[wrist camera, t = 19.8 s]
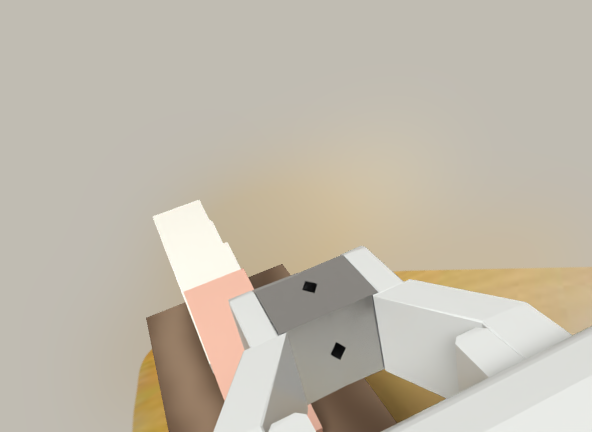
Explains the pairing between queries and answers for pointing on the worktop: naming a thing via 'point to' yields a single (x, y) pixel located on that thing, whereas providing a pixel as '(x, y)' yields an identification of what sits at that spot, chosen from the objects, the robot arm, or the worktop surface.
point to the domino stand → (205, 390)
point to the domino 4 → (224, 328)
